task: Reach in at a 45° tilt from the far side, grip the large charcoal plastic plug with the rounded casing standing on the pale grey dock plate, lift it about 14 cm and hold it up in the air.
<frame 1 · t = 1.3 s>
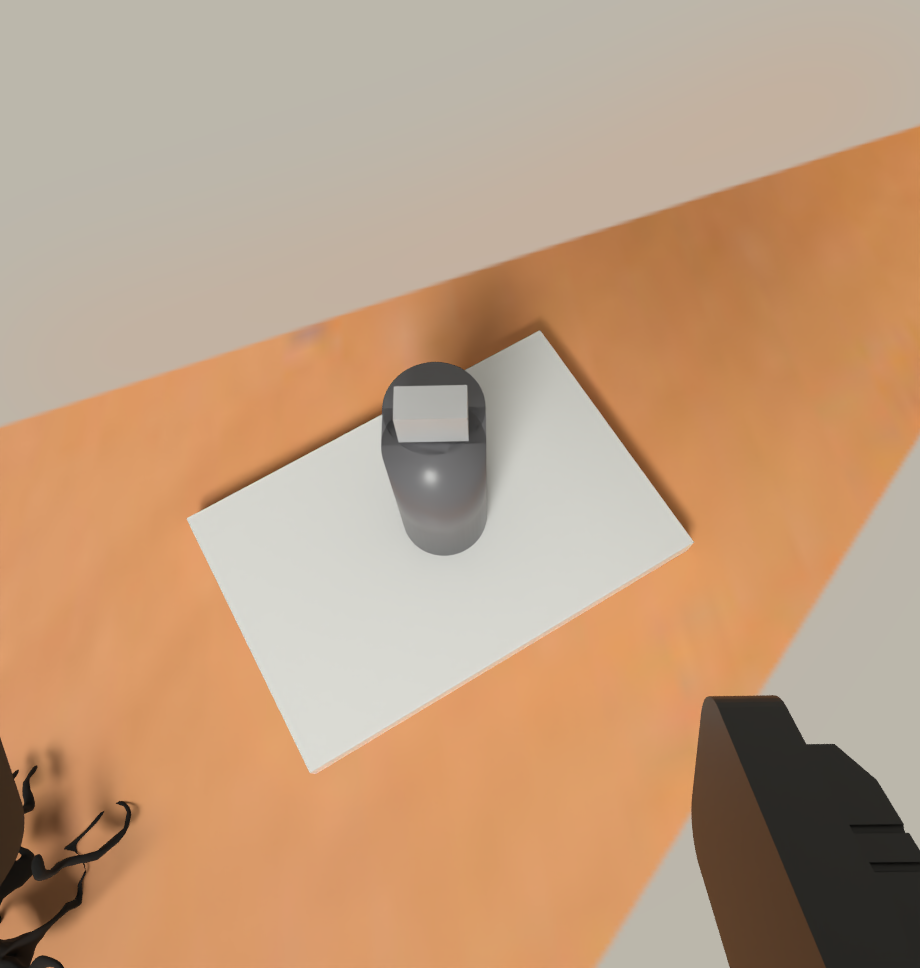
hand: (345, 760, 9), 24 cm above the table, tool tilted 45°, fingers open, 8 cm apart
dock plate: (437, 538, 36), on the table
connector: (444, 499, 35), point 1 cm above the table, touching dock plate
creature: (40, 865, 32), on the table
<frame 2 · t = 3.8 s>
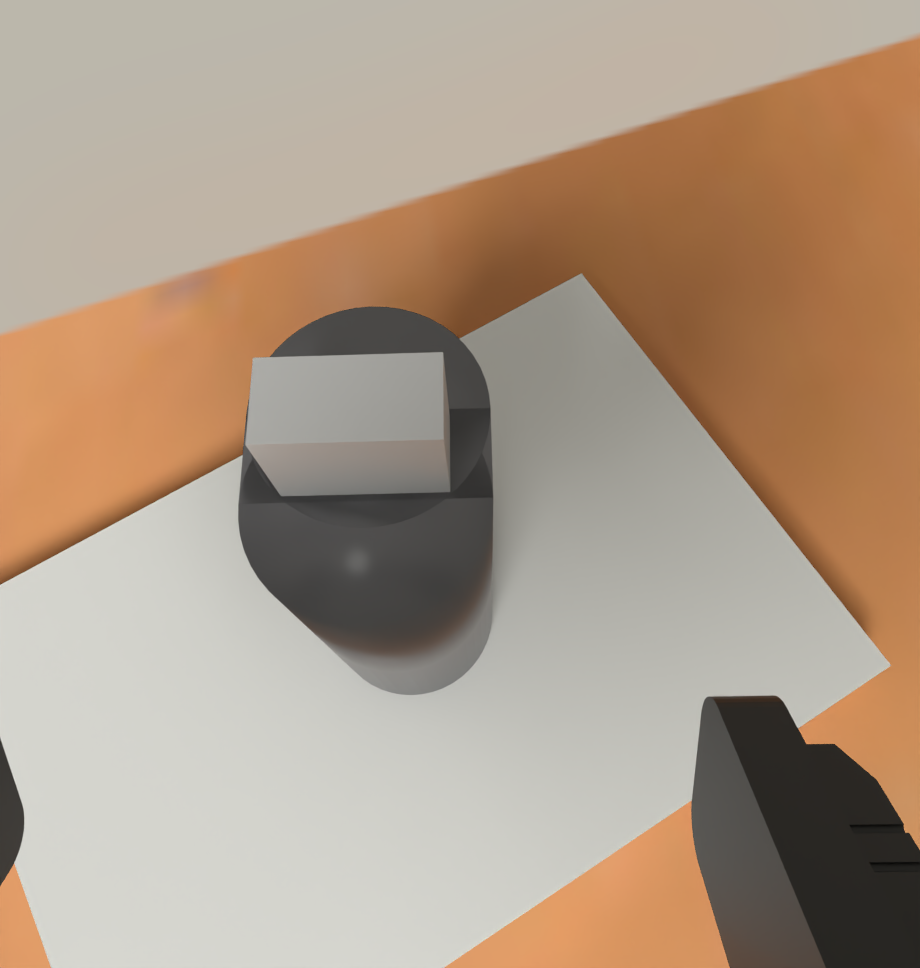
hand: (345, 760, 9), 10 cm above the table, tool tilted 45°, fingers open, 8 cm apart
dock plate: (401, 652, 19), on the table
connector: (412, 583, 19), point 1 cm above the table, touching dock plate
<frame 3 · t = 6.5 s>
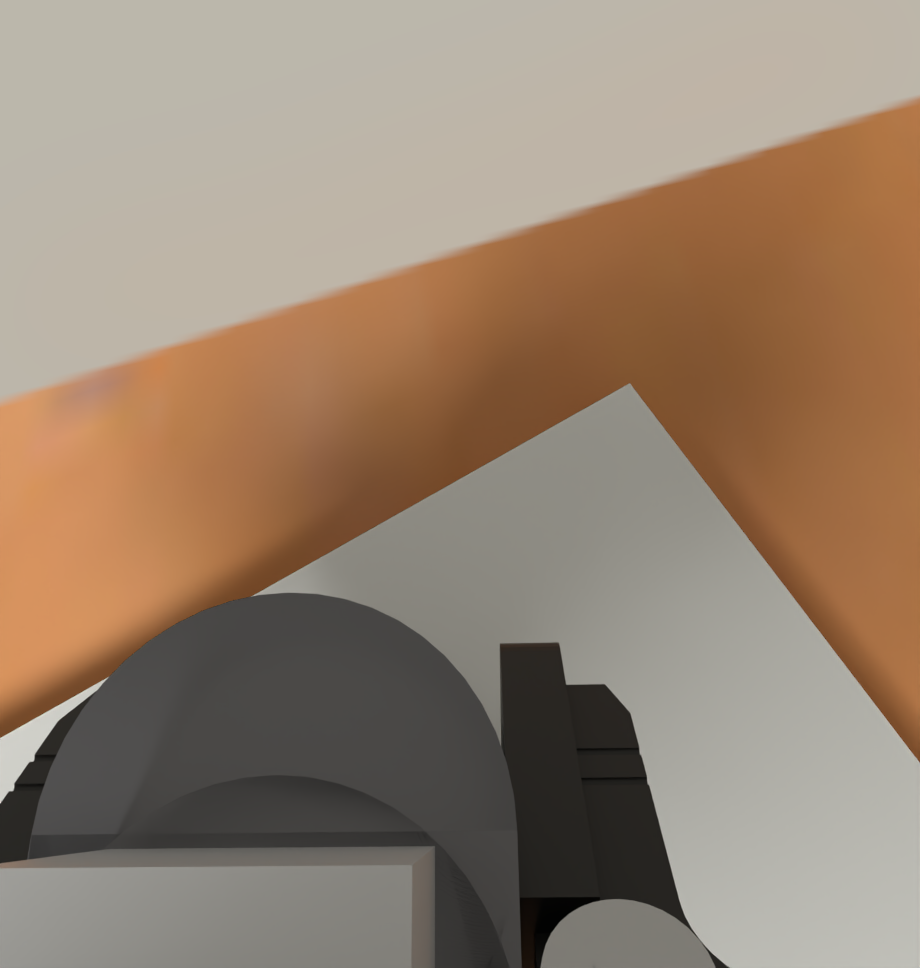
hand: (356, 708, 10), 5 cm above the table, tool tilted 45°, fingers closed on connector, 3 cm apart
dock plate: (375, 949, 13), on the table
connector: (389, 862, 13), point 1 cm above the table, touching dock plate, gripper
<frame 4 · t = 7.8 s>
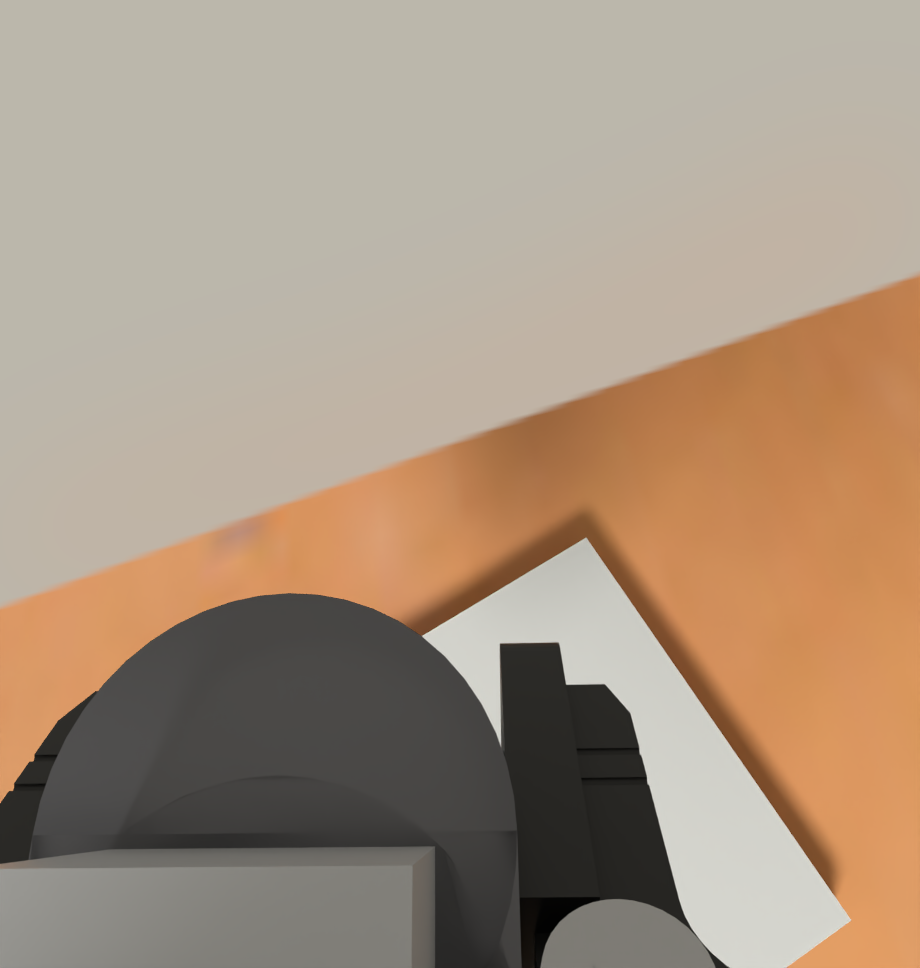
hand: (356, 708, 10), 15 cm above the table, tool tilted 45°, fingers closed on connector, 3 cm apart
dock plate: (432, 889, 23), on the table
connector: (389, 862, 13), point 11 cm above the table, touching gripper
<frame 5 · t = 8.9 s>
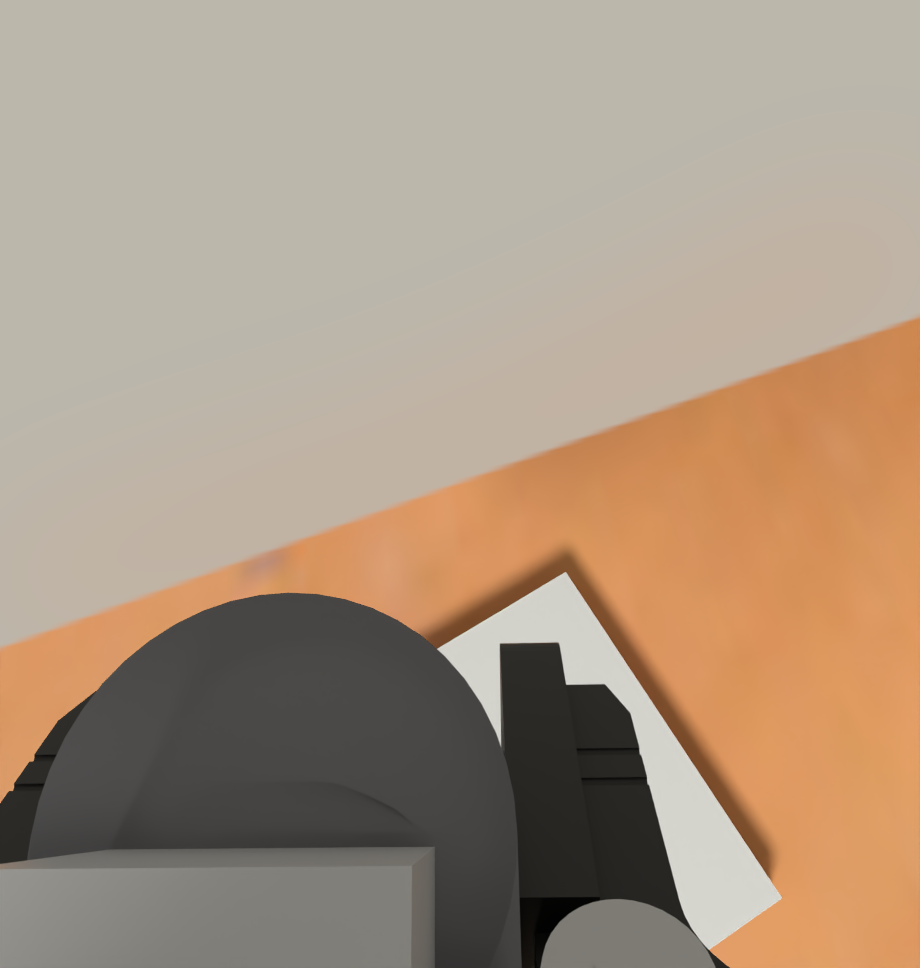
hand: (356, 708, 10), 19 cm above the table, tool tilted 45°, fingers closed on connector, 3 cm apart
dock plate: (432, 872, 27), on the table
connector: (389, 862, 13), point 15 cm above the table, touching gripper
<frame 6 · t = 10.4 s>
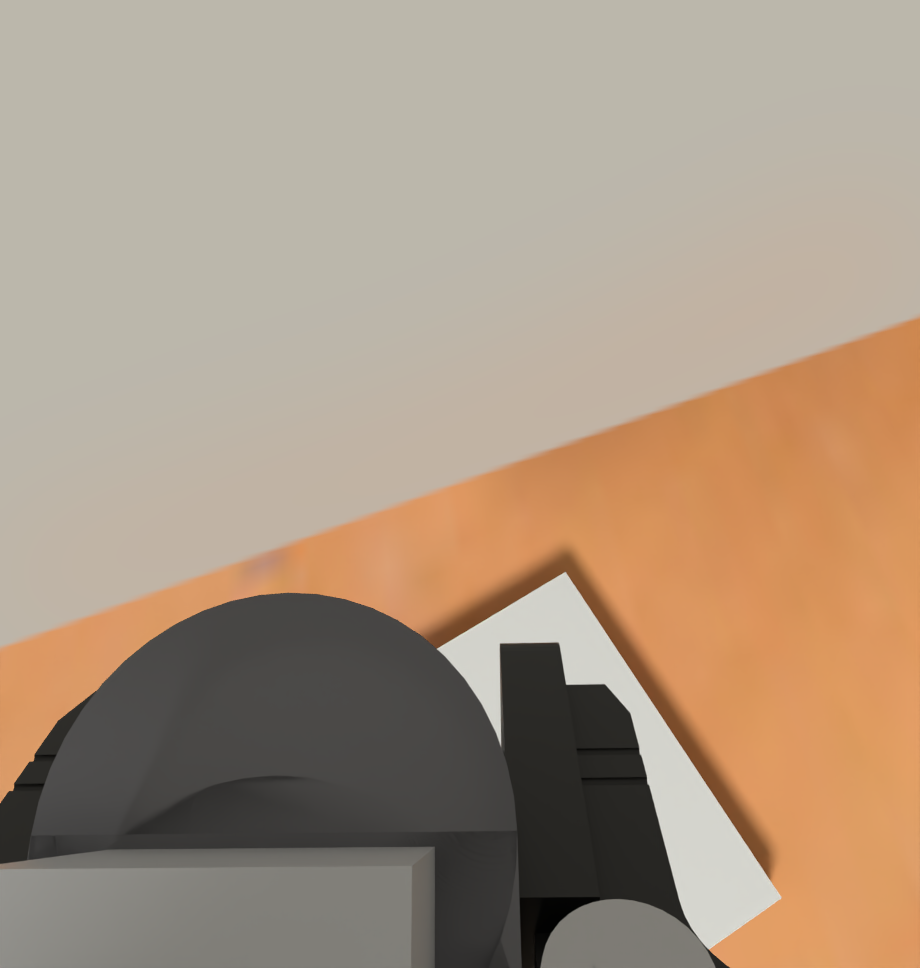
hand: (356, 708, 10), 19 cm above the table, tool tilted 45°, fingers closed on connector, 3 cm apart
dock plate: (432, 872, 27), on the table
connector: (389, 862, 13), point 15 cm above the table, touching gripper
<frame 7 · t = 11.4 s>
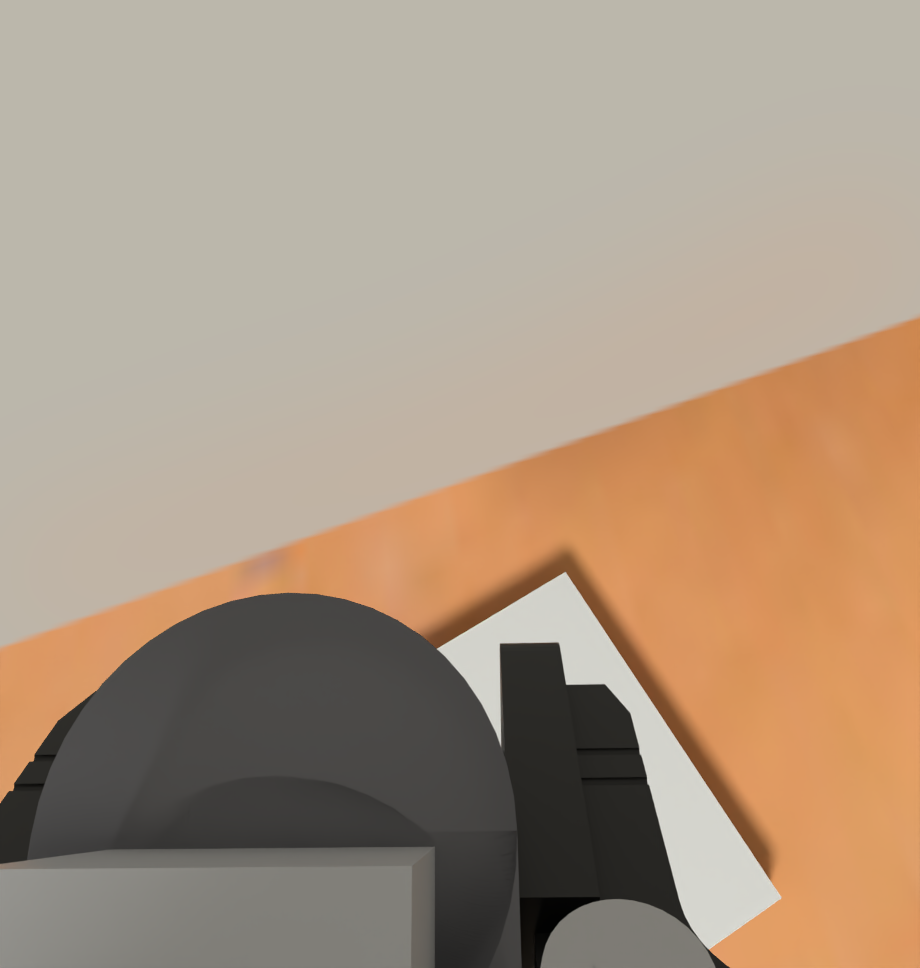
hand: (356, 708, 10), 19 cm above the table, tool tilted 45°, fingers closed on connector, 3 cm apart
dock plate: (432, 872, 27), on the table
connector: (389, 862, 13), point 15 cm above the table, touching gripper
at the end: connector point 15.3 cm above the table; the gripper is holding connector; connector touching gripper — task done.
